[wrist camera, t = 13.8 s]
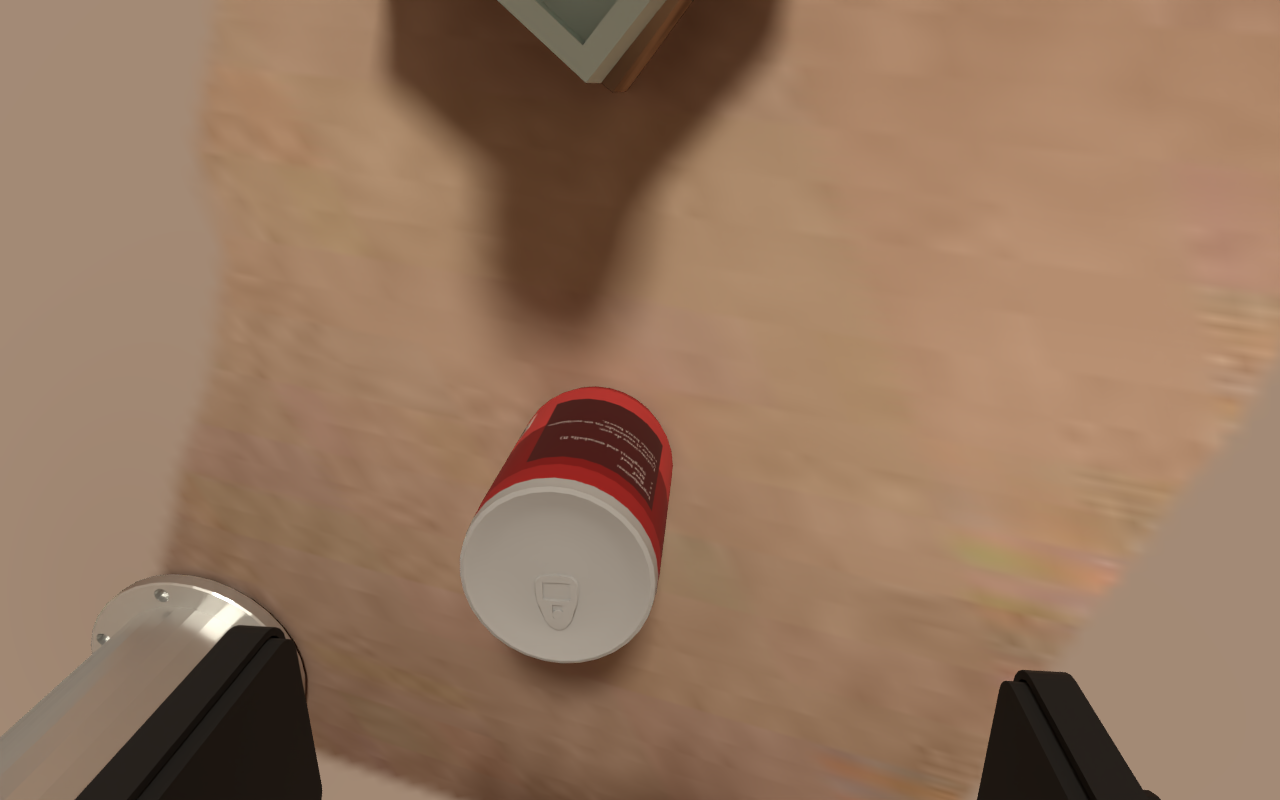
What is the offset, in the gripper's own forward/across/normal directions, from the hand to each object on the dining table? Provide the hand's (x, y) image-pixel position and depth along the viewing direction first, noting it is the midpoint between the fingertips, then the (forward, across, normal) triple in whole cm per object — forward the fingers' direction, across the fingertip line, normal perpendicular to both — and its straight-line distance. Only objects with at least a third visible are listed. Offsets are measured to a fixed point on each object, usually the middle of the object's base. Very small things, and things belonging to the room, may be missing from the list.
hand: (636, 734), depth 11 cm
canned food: (+28, +4, +9) cm, 30 cm away
